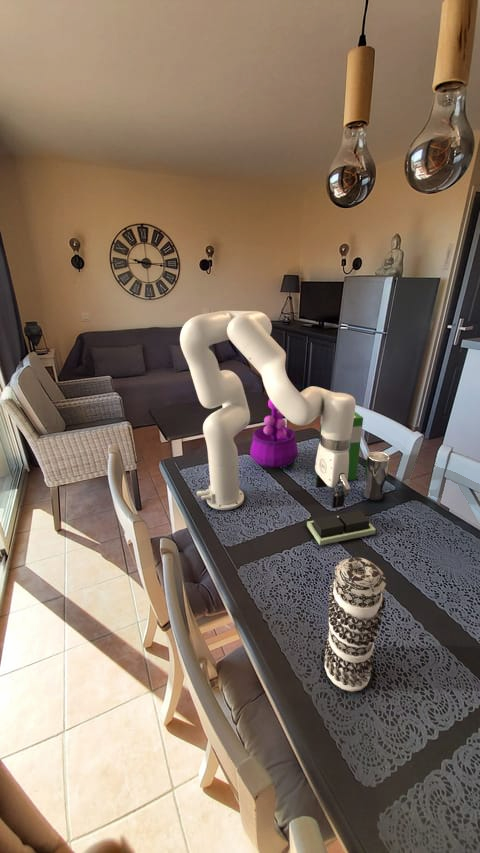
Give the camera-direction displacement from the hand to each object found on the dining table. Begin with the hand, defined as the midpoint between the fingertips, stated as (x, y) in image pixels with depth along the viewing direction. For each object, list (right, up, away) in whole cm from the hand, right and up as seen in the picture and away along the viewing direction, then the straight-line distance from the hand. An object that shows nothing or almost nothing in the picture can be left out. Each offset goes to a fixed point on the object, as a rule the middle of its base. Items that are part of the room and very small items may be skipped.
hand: (328, 496), depth 100 cm
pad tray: (+5, -11, +6) cm, 13 cm away
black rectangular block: (+1, -11, +5) cm, 12 cm away
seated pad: (+9, -10, +6) cm, 15 cm away
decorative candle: (-4, -27, -30) cm, 41 cm away
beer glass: (+20, -4, +21) cm, 29 cm away
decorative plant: (-11, +5, +45) cm, 46 cm away
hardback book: (+12, +3, +38) cm, 40 cm away
